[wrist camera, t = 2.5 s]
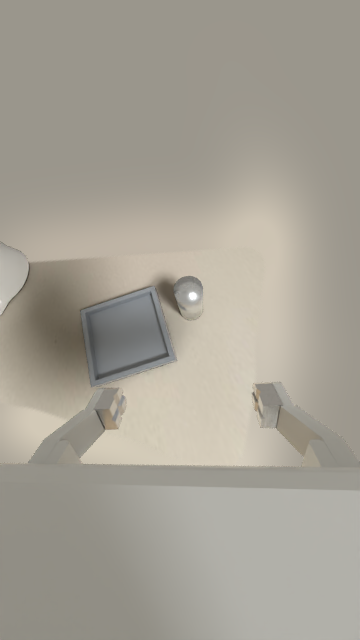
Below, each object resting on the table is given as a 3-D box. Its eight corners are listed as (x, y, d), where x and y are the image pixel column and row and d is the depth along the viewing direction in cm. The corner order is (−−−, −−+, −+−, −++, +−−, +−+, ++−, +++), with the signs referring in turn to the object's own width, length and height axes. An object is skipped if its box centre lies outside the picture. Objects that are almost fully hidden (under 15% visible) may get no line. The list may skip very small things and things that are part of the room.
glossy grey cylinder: (184, 323, 33) (178, 306, 25) (177, 303, 34) (170, 281, 27) (206, 315, 33) (206, 297, 25) (198, 295, 34) (197, 272, 26)
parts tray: (97, 386, 31) (91, 387, 30) (86, 313, 36) (80, 310, 34) (177, 360, 31) (175, 359, 29) (156, 290, 35) (154, 285, 34)
